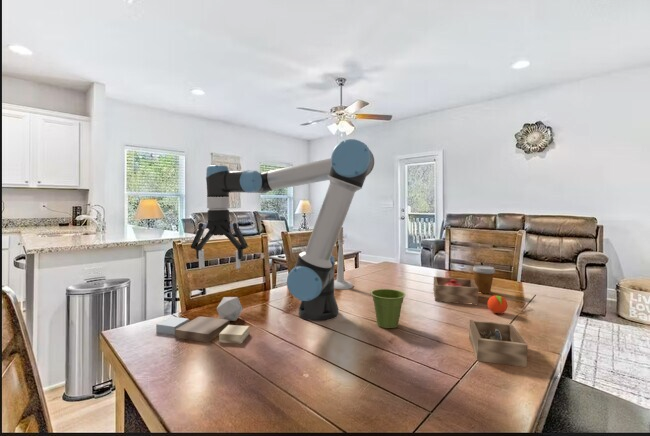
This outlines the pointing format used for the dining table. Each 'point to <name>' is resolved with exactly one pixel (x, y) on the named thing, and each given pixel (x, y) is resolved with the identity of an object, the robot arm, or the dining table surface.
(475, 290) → the wooden box
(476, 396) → the dining table surface
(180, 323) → the grey block
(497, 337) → the eagle figurine
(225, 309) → the die
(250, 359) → the dining table surface
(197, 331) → the walnut block
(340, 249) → the candlestick
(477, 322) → the tray
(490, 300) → the clementine
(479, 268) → the disposable coffee cup
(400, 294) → the plant pot
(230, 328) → the oak block
